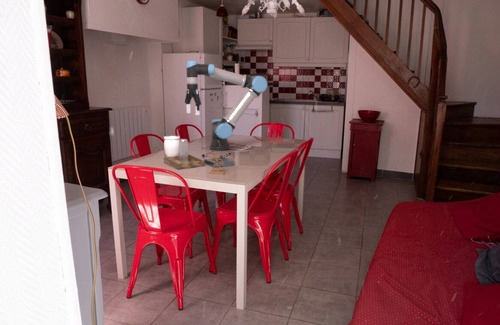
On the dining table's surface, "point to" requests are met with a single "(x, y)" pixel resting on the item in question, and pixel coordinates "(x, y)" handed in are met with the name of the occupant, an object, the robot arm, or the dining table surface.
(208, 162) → the hitch block
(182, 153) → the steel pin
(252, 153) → the dining table surface
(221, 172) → the tan ornamental figurine
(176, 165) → the tray
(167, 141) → the jar
